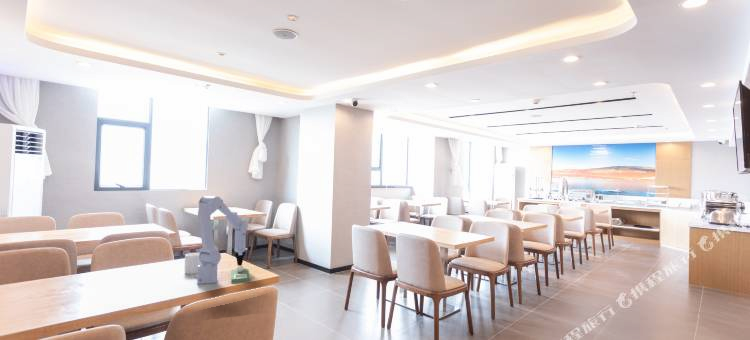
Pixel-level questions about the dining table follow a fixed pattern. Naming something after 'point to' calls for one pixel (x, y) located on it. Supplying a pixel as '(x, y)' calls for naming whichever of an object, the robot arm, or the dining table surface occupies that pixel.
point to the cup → (192, 263)
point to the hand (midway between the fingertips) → (239, 265)
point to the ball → (240, 268)
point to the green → (240, 276)
